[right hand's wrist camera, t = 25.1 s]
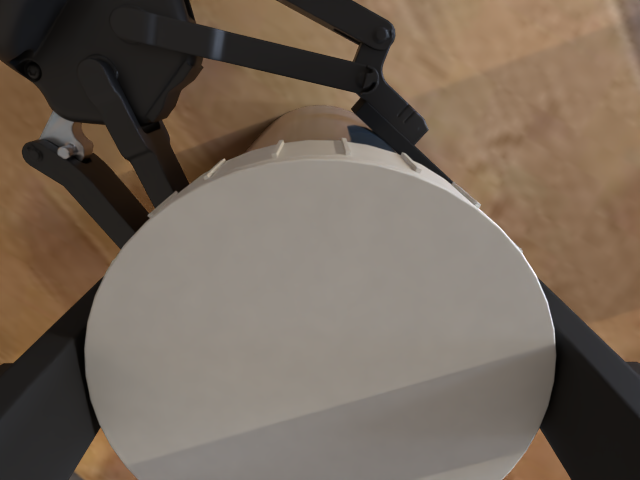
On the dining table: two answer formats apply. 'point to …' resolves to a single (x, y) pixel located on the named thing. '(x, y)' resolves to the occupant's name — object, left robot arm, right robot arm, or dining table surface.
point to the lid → (320, 327)
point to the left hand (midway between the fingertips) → (382, 264)
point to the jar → (318, 128)
